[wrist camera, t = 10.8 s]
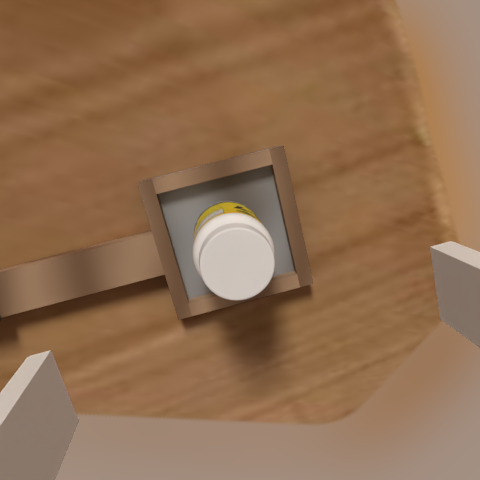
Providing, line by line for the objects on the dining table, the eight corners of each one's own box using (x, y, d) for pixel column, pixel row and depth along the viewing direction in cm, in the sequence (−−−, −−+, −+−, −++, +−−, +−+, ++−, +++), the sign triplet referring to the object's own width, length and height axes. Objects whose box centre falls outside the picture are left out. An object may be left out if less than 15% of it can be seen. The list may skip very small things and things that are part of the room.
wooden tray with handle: (-27, 367, 32) (-52, 392, 28) (-84, 238, 29) (-118, 249, 26) (308, 277, 32) (320, 292, 29) (279, 145, 30) (289, 146, 27)
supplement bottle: (273, 237, 31) (300, 271, 23) (223, 278, 31) (231, 326, 23) (231, 185, 30) (244, 201, 22) (179, 228, 30) (172, 260, 22)
